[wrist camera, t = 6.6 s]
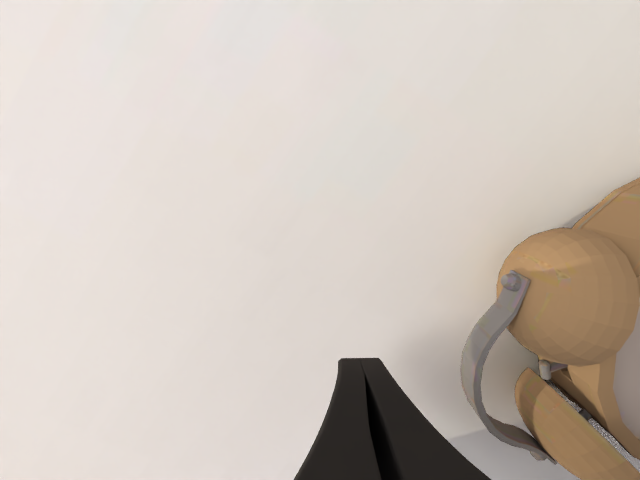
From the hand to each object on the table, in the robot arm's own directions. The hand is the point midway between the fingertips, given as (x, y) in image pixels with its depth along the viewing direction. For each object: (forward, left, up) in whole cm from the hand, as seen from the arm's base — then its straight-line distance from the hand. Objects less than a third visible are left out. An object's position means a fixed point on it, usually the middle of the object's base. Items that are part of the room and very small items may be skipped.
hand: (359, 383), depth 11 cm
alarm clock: (+1, -11, -4) cm, 12 cm away
